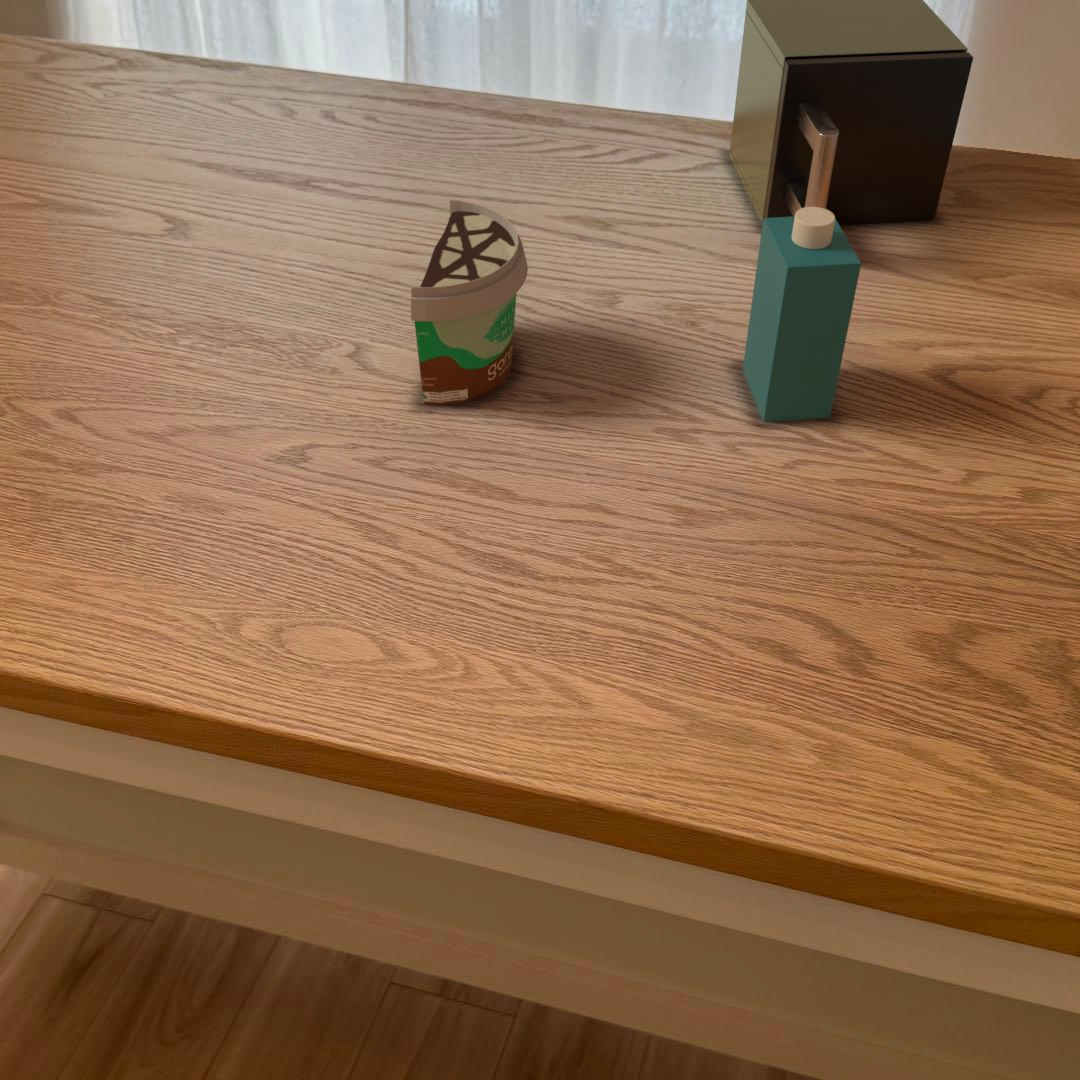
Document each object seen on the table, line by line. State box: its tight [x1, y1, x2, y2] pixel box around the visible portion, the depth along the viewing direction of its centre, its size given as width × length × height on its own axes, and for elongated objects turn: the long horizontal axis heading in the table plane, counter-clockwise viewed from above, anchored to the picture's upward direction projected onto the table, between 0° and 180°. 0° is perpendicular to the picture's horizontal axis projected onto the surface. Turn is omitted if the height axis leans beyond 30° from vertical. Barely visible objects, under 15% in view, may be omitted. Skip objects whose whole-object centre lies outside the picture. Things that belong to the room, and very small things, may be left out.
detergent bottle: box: [742, 207, 862, 423], centre depth 79 cm, size 4×6×14 cm
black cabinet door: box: [764, 51, 974, 227], centre depth 94 cm, size 7×14×14 cm, turn 96°
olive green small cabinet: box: [729, 0, 969, 223], centre depth 101 cm, size 12×14×14 cm
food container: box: [410, 199, 529, 406], centre depth 82 cm, size 12×6×10 cm, turn 171°
